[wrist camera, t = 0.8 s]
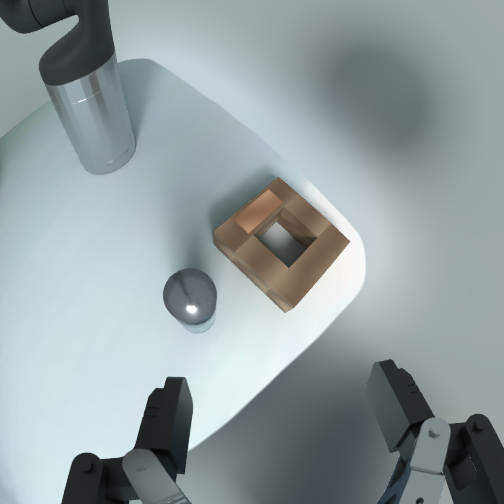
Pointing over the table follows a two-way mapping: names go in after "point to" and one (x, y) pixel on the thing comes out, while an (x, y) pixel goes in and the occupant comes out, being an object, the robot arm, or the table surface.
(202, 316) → the barrel peg
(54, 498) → the table surface
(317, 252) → the block
